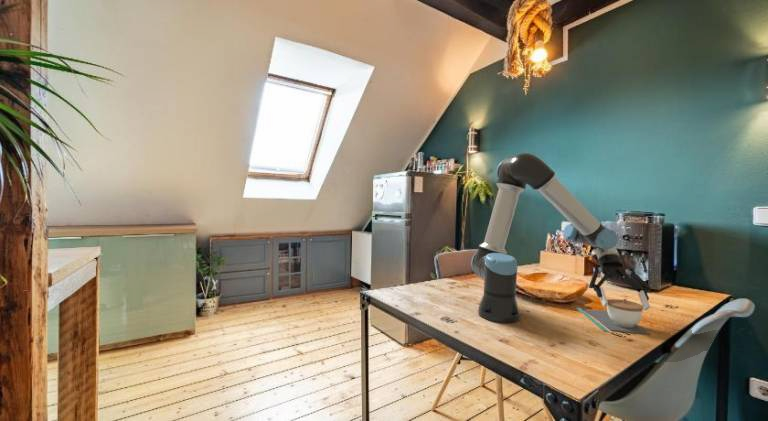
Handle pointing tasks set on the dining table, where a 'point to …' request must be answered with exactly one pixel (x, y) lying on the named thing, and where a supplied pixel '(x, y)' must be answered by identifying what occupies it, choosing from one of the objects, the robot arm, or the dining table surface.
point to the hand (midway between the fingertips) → (626, 306)
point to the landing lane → (610, 322)
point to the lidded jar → (624, 312)
